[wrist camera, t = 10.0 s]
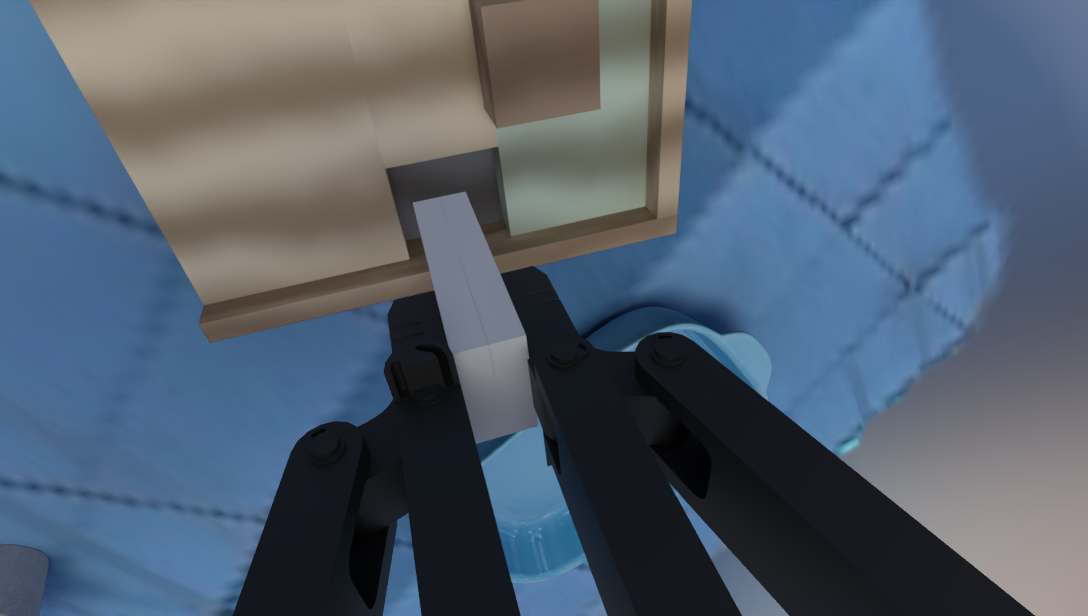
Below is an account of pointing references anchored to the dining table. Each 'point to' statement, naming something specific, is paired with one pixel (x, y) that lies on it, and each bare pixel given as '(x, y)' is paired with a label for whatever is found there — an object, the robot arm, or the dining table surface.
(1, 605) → the house plant
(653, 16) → the box
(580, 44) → the walnut block
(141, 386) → the dining table surface
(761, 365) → the casserole dish
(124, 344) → the dining table surface
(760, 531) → the robot arm
